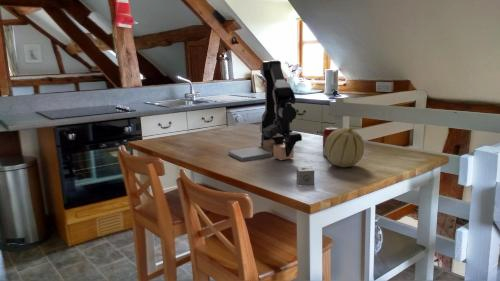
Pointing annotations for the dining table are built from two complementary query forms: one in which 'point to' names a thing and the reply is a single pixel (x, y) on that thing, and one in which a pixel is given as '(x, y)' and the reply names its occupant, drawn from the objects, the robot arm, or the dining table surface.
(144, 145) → the dining table surface
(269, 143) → the walnut brick
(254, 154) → the base board
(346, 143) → the cantaloupe
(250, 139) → the dining table surface
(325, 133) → the soda can
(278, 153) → the terracotta brick
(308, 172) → the grey cube
